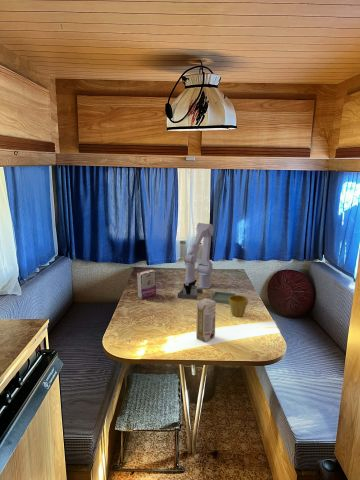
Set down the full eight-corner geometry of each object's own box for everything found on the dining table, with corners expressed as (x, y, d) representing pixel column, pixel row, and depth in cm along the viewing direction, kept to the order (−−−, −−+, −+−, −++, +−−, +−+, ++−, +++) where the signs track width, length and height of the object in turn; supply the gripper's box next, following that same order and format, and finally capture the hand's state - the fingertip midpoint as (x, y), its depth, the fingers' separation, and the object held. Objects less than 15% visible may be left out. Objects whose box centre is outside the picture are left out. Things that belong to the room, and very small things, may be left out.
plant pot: (245, 319, 199) (246, 302, 197) (226, 317, 202) (227, 300, 200) (248, 312, 209) (249, 296, 207) (230, 310, 212) (230, 294, 210)
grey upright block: (185, 293, 239) (185, 284, 238) (197, 294, 237) (197, 285, 235) (183, 295, 235) (183, 286, 234) (195, 297, 232) (195, 288, 231)
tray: (214, 294, 237) (214, 291, 237) (235, 296, 233) (235, 293, 233) (209, 301, 225) (209, 298, 224) (231, 304, 221) (231, 301, 220)
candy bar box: (151, 293, 239) (151, 269, 235) (156, 295, 235) (156, 270, 232) (137, 297, 232) (136, 272, 229) (141, 299, 228) (141, 274, 225)
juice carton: (217, 337, 179) (217, 300, 175) (206, 343, 172) (206, 305, 168) (204, 332, 184) (205, 296, 180) (193, 338, 177) (194, 301, 173)
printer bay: (184, 290, 244) (184, 287, 243) (202, 292, 240) (202, 289, 239) (177, 297, 232) (177, 293, 231) (197, 299, 228) (197, 296, 227)
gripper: (187, 268, 241) (187, 288, 243) (180, 275, 227) (180, 295, 230) (198, 269, 238) (197, 289, 241) (191, 276, 225) (191, 297, 228)
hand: (190, 292), depth 235 cm, fingers open, 7 cm apart
